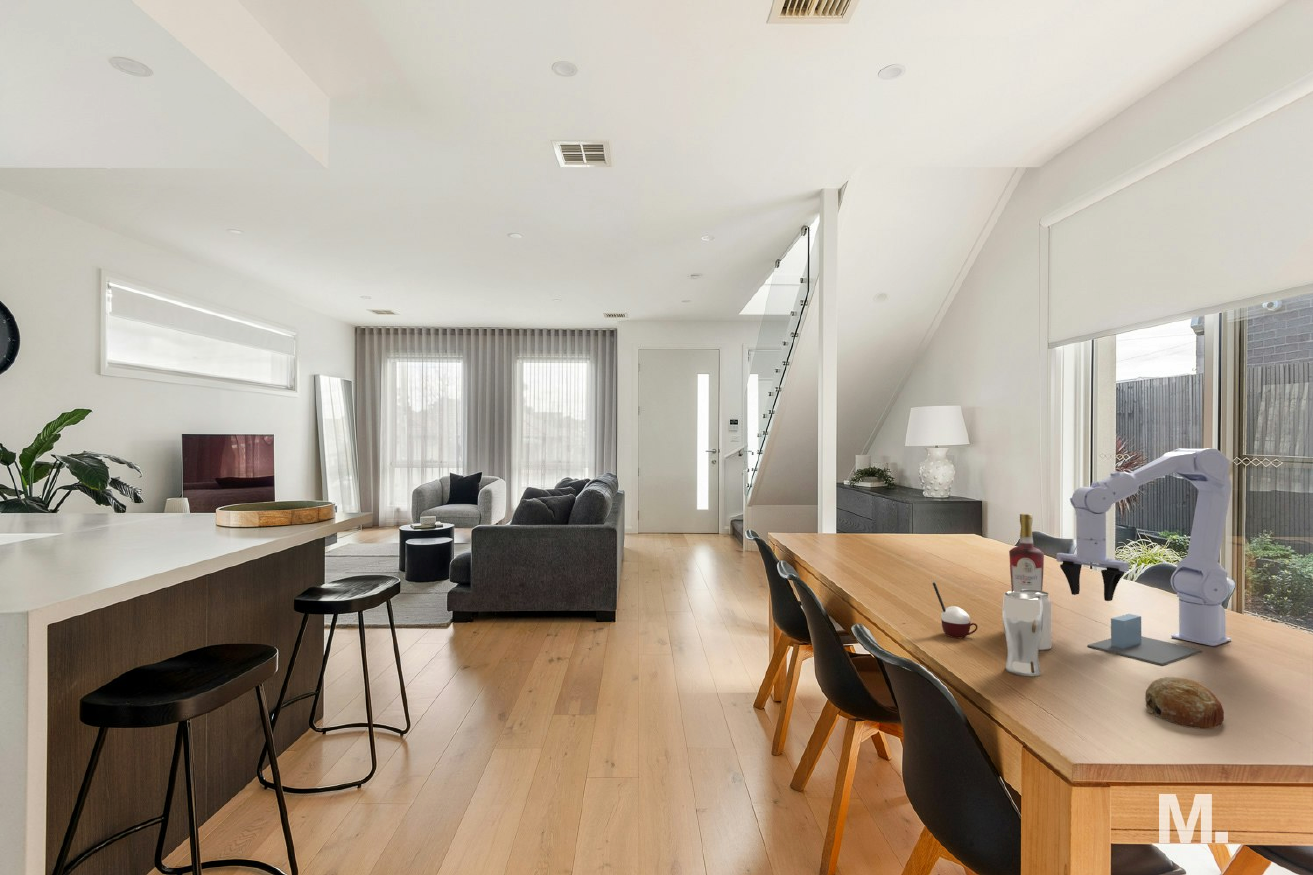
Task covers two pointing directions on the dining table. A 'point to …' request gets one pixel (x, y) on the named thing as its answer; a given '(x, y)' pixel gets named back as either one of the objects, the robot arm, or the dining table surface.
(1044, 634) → the can
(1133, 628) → the block
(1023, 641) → the beer glass
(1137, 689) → the dining table surface
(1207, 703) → the bread roll
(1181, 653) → the mat
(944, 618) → the cocoa
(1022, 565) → the liquor
